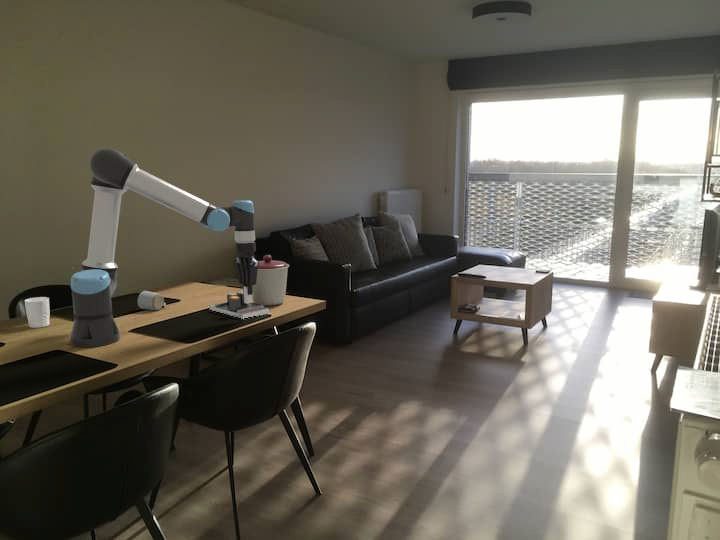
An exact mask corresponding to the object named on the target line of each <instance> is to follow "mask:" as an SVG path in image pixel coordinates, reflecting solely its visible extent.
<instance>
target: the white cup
mask: <svg viewBox="0 0 720 540" xmlns="http://www.w3.org/2000/svg"><path fill="white" fill-rule="evenodd" d="M24 307H25V311H26V318H27V320H28V321H27V322H28V327H29V328H32V329H35V328H36V329H38V328H44V327H47V326H49V325H50V324H51V323H50V322H51V321H50V316H51V315H50V313H51V311H50V297H47V296H39V297H37V296H35V297H29V298H27V299H24Z"/></svg>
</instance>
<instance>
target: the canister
mask: <svg viewBox="0 0 720 540" xmlns="http://www.w3.org/2000/svg"><path fill="white" fill-rule="evenodd" d="M258 261H259V265H258V271H257V280H256V285H253V286H252V290H253V294H252V301H253V303H255V305H257V306H258V305H263V307H267V306H276V305H280V304H282V303H283V302H284V301H285V299H286V298H285V297H286V293H287V292H286V291H287V281H288V279H287V278H288V269H289V267H290V264H289V263H286V262H285V261H282V260H273V259H272V255H270V254H265V255H264V256H263V260H258Z"/></svg>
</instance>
